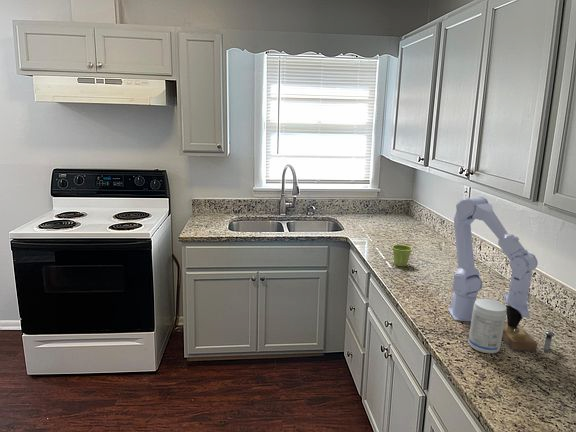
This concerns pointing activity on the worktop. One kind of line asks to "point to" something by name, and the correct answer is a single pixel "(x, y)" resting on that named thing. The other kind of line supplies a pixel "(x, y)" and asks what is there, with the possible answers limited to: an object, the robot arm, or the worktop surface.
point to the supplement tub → (487, 325)
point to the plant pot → (401, 254)
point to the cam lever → (548, 341)
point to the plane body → (519, 341)
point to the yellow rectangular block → (516, 332)
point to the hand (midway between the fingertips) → (511, 328)
